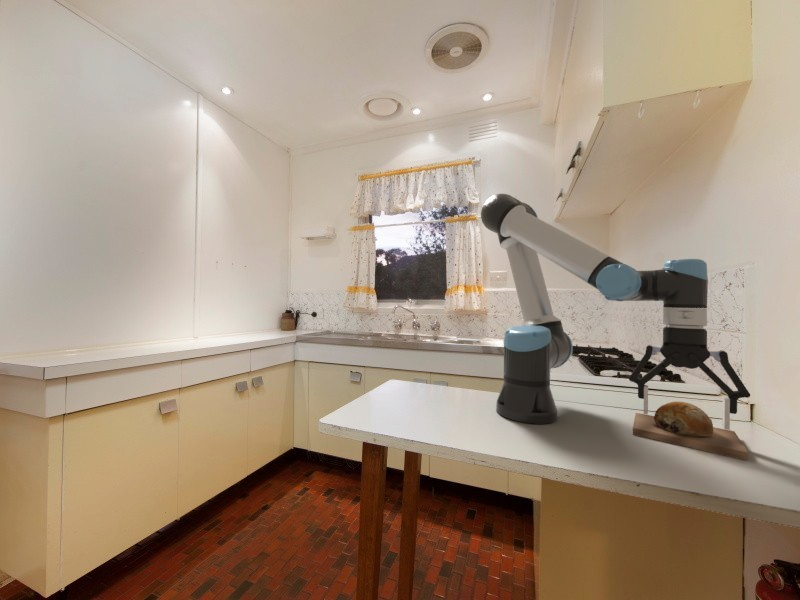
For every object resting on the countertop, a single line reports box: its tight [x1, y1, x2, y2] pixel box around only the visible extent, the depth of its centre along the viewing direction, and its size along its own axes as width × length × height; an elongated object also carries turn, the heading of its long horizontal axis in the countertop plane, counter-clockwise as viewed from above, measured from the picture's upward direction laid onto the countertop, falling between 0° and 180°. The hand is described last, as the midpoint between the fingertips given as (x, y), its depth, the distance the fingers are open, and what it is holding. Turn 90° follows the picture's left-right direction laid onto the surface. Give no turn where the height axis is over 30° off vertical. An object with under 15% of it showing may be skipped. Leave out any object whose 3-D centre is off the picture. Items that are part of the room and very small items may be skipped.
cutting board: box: [632, 412, 749, 461], centre depth 72 cm, size 18×14×2 cm
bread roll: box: [653, 401, 714, 437], centre depth 72 cm, size 10×10×8 cm
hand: (683, 419), depth 72 cm, fingers open, 13 cm apart
